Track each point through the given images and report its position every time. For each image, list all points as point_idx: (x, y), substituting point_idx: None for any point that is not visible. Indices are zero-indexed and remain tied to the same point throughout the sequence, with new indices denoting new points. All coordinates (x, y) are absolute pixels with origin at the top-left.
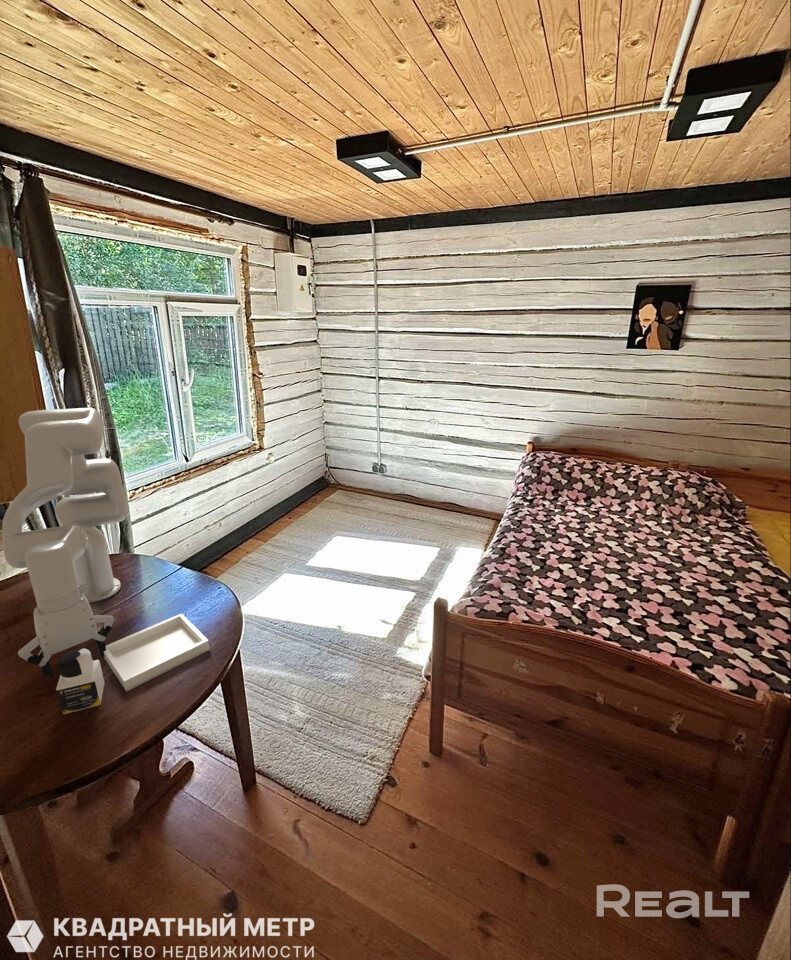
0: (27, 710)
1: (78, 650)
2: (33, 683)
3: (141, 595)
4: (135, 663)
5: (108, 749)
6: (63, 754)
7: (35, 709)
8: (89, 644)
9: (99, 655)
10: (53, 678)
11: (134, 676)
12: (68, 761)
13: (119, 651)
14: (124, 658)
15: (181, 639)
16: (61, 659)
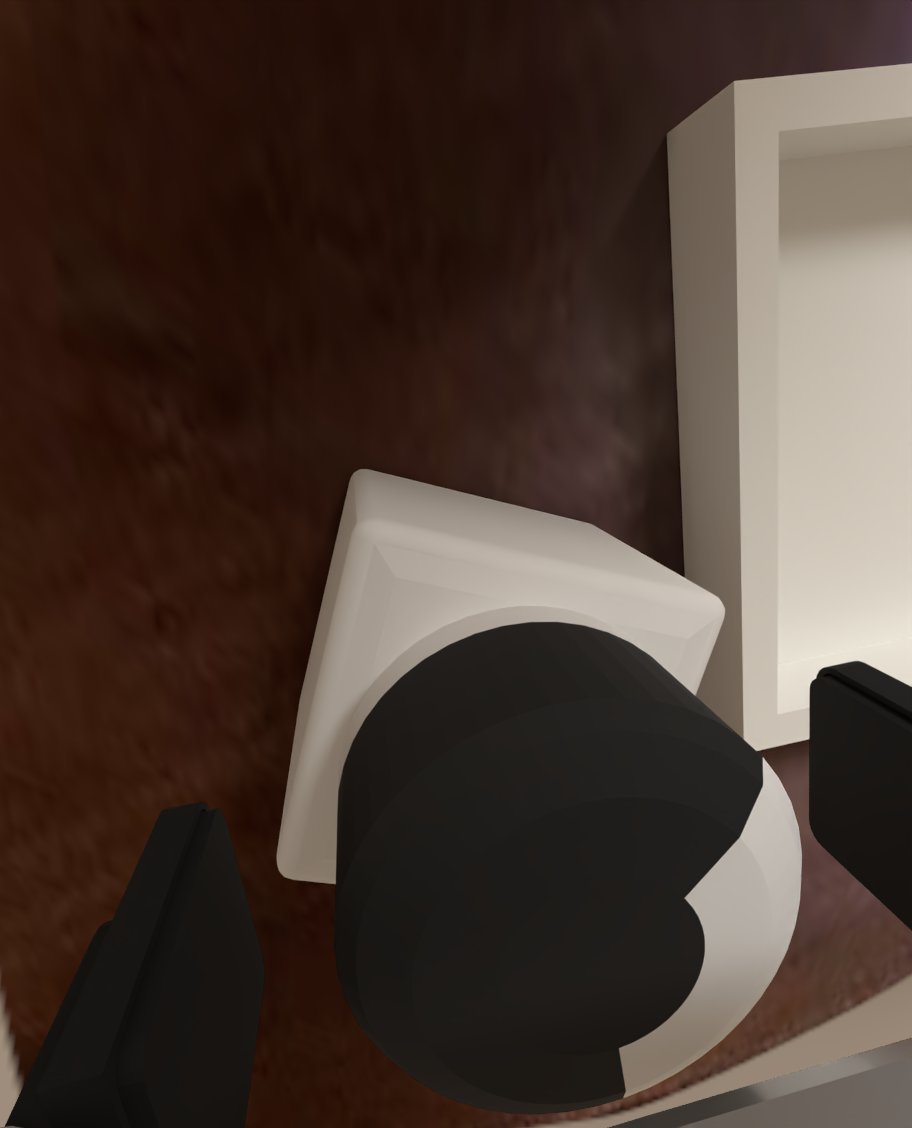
0: (41, 502)
1: (694, 855)
2: (47, 106)
3: None
4: (840, 448)
5: None
6: (293, 1015)
7: (104, 528)
8: None
9: (810, 768)
10: (260, 964)
11: None
12: (315, 1067)
13: (802, 166)
14: (800, 316)
15: None
16: (407, 958)
